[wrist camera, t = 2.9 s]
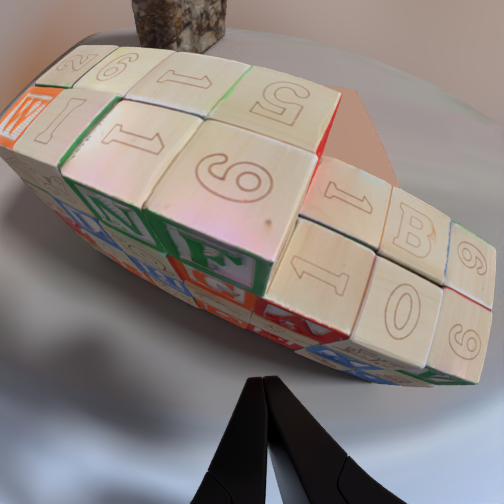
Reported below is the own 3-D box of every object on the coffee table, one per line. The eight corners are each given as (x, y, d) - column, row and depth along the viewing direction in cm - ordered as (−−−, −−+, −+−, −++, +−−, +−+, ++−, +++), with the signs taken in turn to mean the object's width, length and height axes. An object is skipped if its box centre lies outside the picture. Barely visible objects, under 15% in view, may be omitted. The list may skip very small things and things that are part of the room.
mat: (404, 214, 21) (407, 211, 21) (75, 224, 19) (72, 221, 19) (354, 93, 28) (355, 89, 27) (118, 98, 26) (116, 93, 25)
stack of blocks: (405, 298, 18) (543, 220, 7) (377, 385, 16) (538, 388, 4) (135, 178, 20) (78, 40, 9) (89, 248, 18) (-19, 134, 7)
